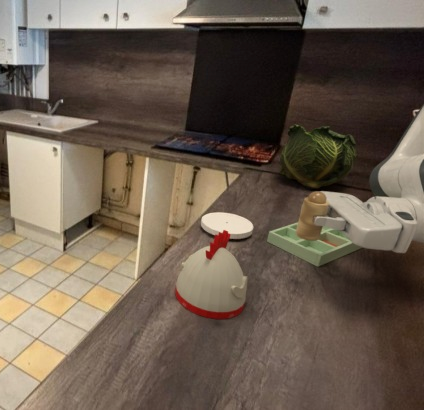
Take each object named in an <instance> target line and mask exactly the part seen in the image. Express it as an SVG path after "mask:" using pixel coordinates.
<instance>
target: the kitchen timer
mask: <svg viewBox="0 0 424 410" xmlns="http://www.w3.org/2000/svg"><path fill="white" fill-rule="evenodd" d="M230 235H231V234H229V233H228V231H226V230H223V233H221V232H219V235H216V234H215V235H214V239H213V242H212V241H210V243H209V245H208V246H207V245H206V246H204V247H202V248H200V249H198V250H197V251H195V252H193V253H192V254H190V255H189V256H188V258H187V259H186V260H185V261H182V262H181V265H180V269H179V271H180V272H179V274H178V276H177V280H176V284H175V291H174V294H175V297H176V299H177V301H178V302H179V303H180V305H182V306H183V307H184V308H185V309H187V310H188V311H190V312H192V313H193V314H195V315H197V316H202V317H203V318H206V319H207V318H208V319H213V320H228V319H231V318H235V317H236V316H238V315H240V314H241V313H242V312H243V310H244V308H245V306H246V305H245V304H246V301H247V300H246V299H247V296H246V295H247V291H248V276H246V275H244V272H243V270H242V268H241V265H240V263H239V261H238V260H237V259H236V257H235V256H234V254H232V252H230V251H229V250H228V249H227V246H228V244H229V241H230Z"/></svg>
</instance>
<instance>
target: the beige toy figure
mask: <svg viewBox="0 0 424 410" xmlns="http://www.w3.org/2000/svg"><path fill="white" fill-rule="evenodd" d="M326 200H327V198H326V195H325V194H324V193H322V192H319V190H318V191H317V190H316V191H312V192H311V193H310V194H308V196H307V197H304V199H303V202H302V205H301V208H302V209H301V208H300V213H299V218H298V221H297V222H298V225H297V229H296V233H295V234H296V236H298V237H299V238H302V239H305V240H309V241H316V240H319V238H320V234H321V231H322V227H323V226H316V225H315V224H314V223H313V222H312V220H313V216H314V215H324V216H325V217H326V214H327V210H328V207H329V202H328V201H326Z"/></svg>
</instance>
